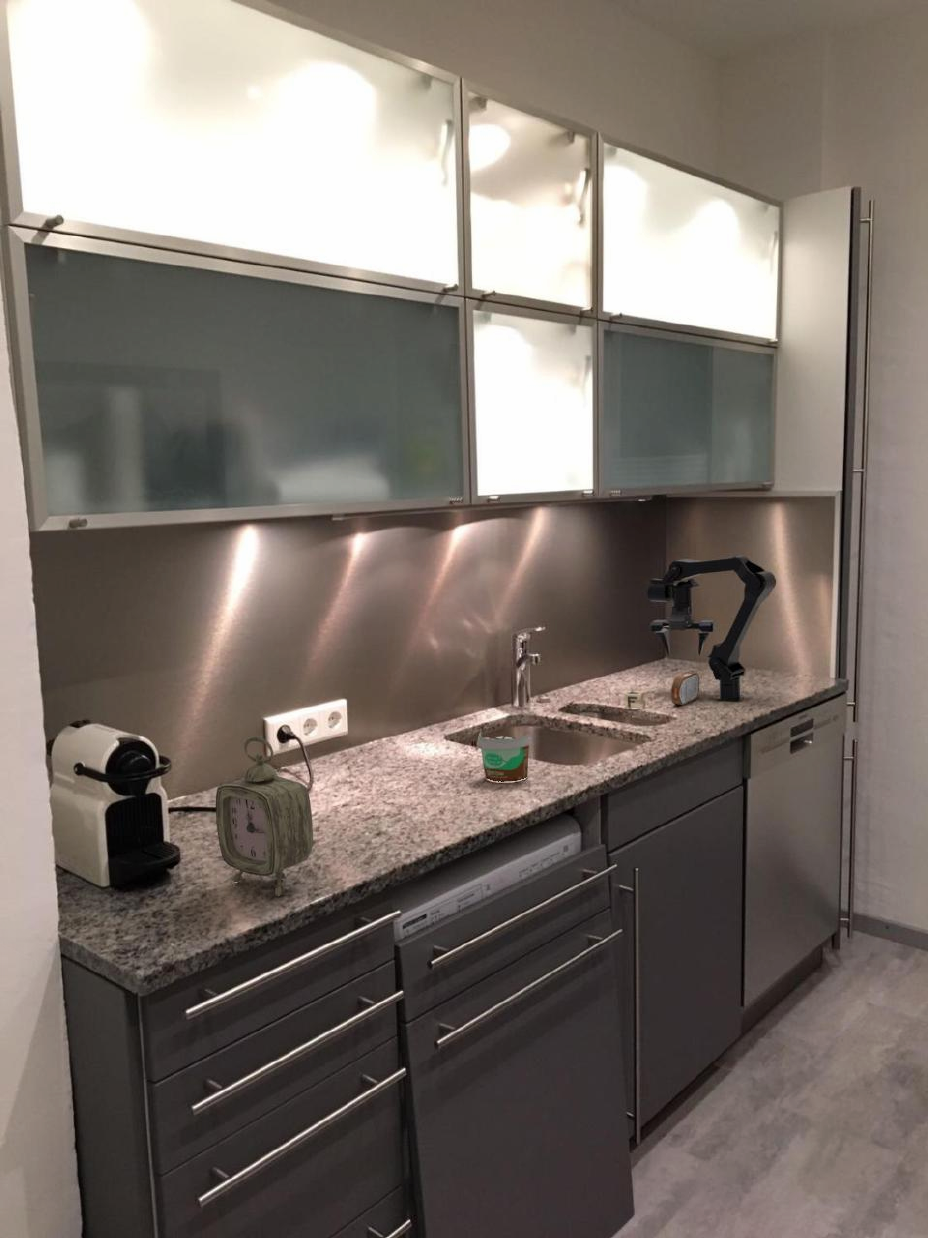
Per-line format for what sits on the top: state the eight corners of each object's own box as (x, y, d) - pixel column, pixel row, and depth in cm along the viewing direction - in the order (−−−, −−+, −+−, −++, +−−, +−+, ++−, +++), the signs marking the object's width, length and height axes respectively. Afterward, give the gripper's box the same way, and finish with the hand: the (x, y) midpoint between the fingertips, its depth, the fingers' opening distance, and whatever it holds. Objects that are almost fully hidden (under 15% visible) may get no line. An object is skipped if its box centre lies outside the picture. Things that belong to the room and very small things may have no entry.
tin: (691, 697, 297) (690, 669, 296) (701, 698, 295) (701, 669, 294) (670, 707, 285) (669, 678, 284) (680, 708, 283) (679, 678, 282)
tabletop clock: (221, 885, 168) (208, 738, 166) (264, 868, 175) (252, 726, 172) (279, 903, 159) (266, 747, 156) (321, 884, 166) (310, 735, 163)
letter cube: (630, 706, 290) (629, 690, 289) (645, 707, 288) (645, 691, 287) (625, 709, 286) (624, 693, 285) (640, 710, 284) (640, 694, 283)
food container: (470, 784, 220) (468, 739, 219) (480, 776, 226) (478, 732, 224) (524, 787, 215) (522, 741, 214) (533, 779, 221) (531, 734, 220)
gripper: (643, 605, 295) (645, 658, 297) (707, 605, 287) (709, 659, 289) (654, 601, 305) (656, 652, 307) (716, 600, 297) (718, 653, 298)
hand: (684, 654), depth 300 cm, fingers open, 9 cm apart
